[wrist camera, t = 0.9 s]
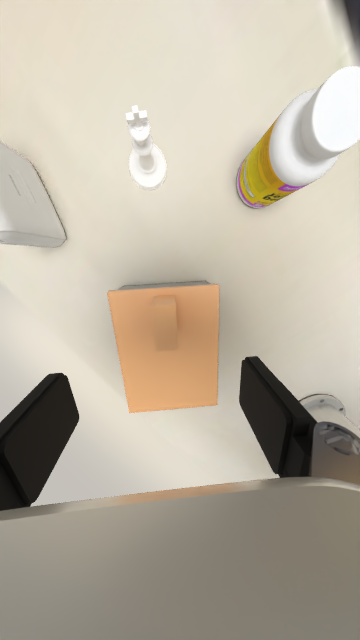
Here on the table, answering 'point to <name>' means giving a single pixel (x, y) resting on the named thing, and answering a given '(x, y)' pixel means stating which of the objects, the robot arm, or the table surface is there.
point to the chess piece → (144, 153)
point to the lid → (167, 345)
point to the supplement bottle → (303, 140)
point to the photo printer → (25, 205)
